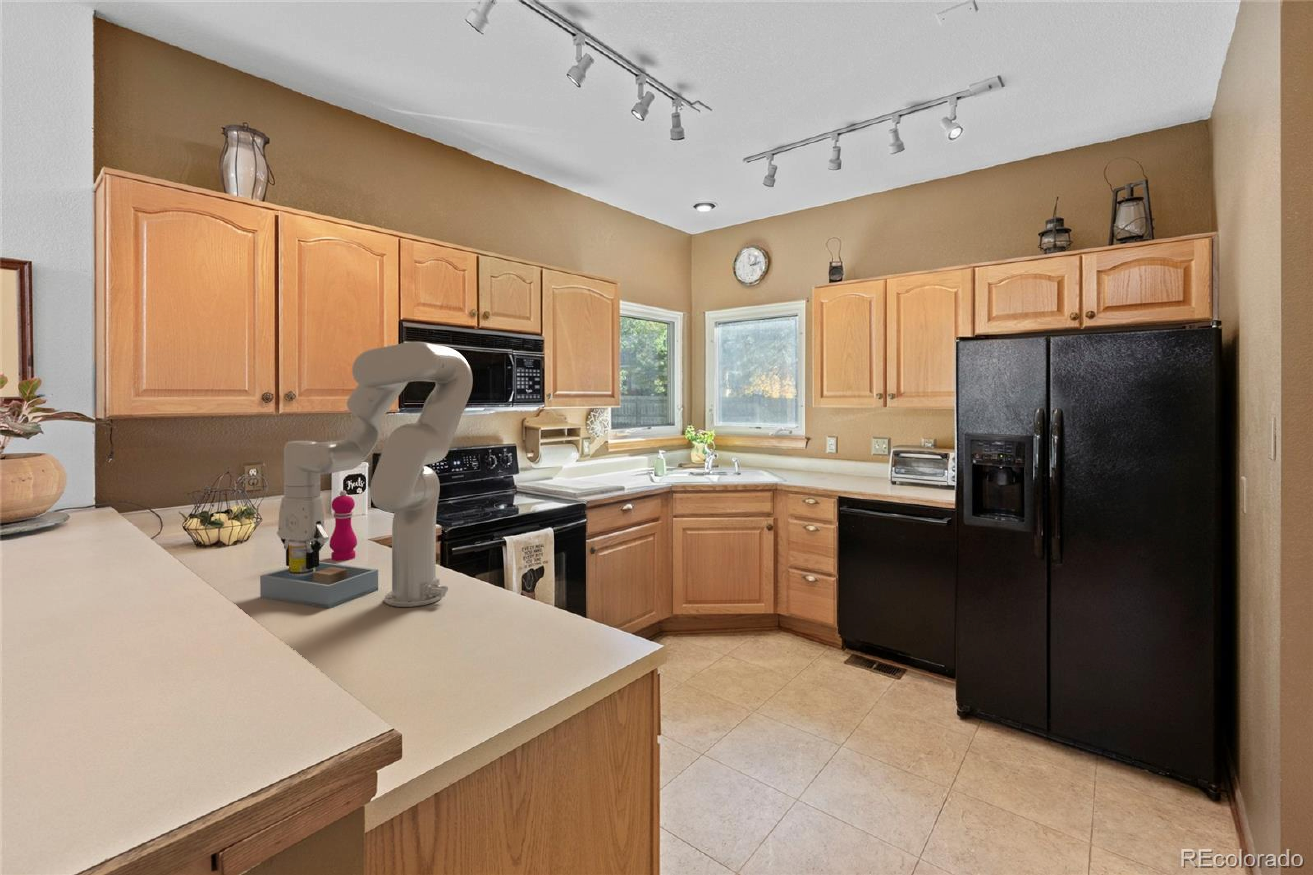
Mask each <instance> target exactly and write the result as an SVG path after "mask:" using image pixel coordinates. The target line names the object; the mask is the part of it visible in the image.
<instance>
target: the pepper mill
mask: <svg viewBox="0 0 1313 875" xmlns="http://www.w3.org/2000/svg"><path fill="white" fill-rule="evenodd" d="M347 493H348V492H347V491H346V490H345V489H344V490H343V489H342V490H340V491H339V496H336V497H334V498H333V499H332V501H331V509H332V510H333V511H334V513H333V518H334V521H335V522H334V525H335V526H334V529H333V532H332V534H331V536H330V538H329V544H328V545H329V548H330V549H331V550H332V552H331V553H330V554H331V556H330V557H331V558H330V559H331V560H332V561H336V562H337V561H338V562H339V561H340V562H341V561H348V560H349V561H350V560H352V559H355V558H356V550H354V549H355V548H356V547H357V545H358V538H357V536H356V534H355V532H354V529H353V526H352V517H353V516H354V515H353V509H354V508H355V500H354V498H353V497H351V496H349V495H347Z"/></svg>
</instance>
